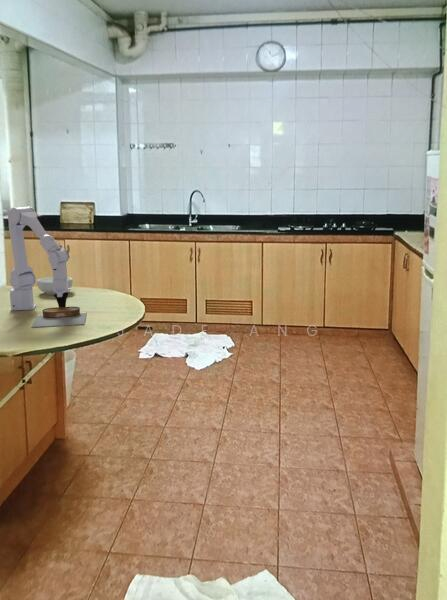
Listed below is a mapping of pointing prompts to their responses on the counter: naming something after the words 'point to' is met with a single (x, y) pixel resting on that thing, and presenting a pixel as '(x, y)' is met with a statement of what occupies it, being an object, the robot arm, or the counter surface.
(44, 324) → the mat
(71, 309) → the tin
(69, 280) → the cereal bowl
